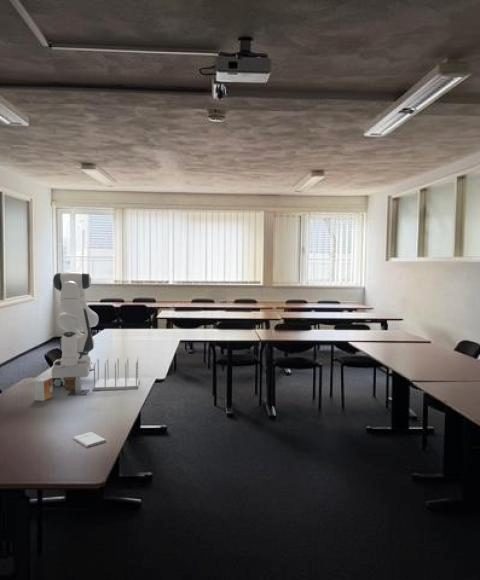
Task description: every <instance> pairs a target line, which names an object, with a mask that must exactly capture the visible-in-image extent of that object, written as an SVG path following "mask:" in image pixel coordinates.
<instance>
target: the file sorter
mask: <svg viewBox="0 0 480 580" xmlns="http://www.w3.org/2000/svg"><path fill="white" fill-rule="evenodd" d="M119 361H120V360H119V357H117V358H116V360H115V361H114V362H115V363H114V378H110V377H109V376H110V375H109V373H110V372H109V358H108V357H106V360H105V361H104V378H99V377H100V373H99V372H100V370H99V369H100V368H99V367H100V360H99V358H97V359H96V360H95V362H94V363H93V364H94V370H93V387H92V391H108V390H109V391H110V390H111V391H112V390H132V389H133V390H134V389H135V390H137V389H139V386H140V381H141V380H140V377H139V356H136V360H135V377H129V356H128V357H126V359H125V362H124V372H125V373H124V376H125V377H123V378H120V377H119V373H120V372H119V364H120V363H119ZM96 364H97V379H96Z"/></svg>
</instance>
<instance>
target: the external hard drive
mask: <svg viewBox="0 0 480 580" xmlns="http://www.w3.org/2000/svg"><path fill="white" fill-rule="evenodd" d="M72 438H73V439H72V440H74V441H76V442H77V441H78V443H79V444H81V445H82V446H84V447H85V448H87V447H88V448H90V447H89V446H91V447H94V446H97V445H100V443H101V444H103V443H106V442H107V440H106V438H103V437H102V436H100V435H98V434H96V433H94V432H92V431H89V432H86V433H82V434H78V435H74V436H73V437H72ZM96 444H97V445H96ZM93 445H94V446H93Z"/></svg>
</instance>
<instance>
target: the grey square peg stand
mask: <svg viewBox="0 0 480 580" xmlns="http://www.w3.org/2000/svg"><path fill="white" fill-rule="evenodd" d="M75 388H76V389H75V390H69V392H68V393H67V395H66V396H67V397H73V396H75V397H76V396H87V395H88V394H89V392H90V391H91V389H90V388H88V389H82V380H79V381H77V380H76V382H75Z"/></svg>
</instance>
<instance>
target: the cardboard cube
mask: <svg viewBox="0 0 480 580" xmlns="http://www.w3.org/2000/svg"><path fill="white" fill-rule="evenodd" d="M76 381H77V377H71V378H65V386H64V390H65V391H71V390H76V388H75V382H76Z"/></svg>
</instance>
